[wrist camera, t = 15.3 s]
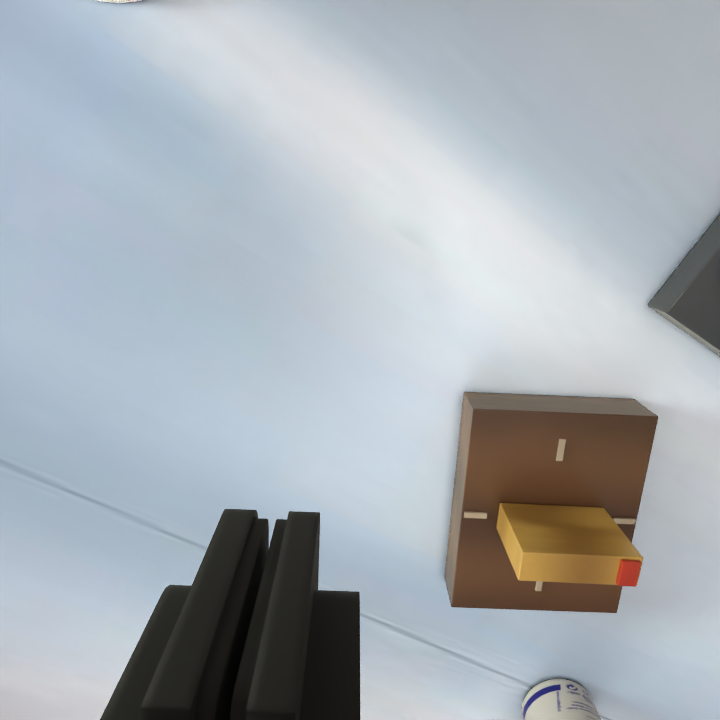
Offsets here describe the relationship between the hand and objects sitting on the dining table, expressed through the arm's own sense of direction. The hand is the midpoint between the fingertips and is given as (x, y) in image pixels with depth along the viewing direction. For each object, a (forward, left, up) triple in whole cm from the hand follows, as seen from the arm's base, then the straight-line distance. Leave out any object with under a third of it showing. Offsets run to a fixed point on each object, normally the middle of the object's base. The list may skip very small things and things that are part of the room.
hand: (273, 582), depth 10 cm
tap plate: (+12, +14, -25) cm, 31 cm away
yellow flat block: (+12, +14, -22) cm, 29 cm away
